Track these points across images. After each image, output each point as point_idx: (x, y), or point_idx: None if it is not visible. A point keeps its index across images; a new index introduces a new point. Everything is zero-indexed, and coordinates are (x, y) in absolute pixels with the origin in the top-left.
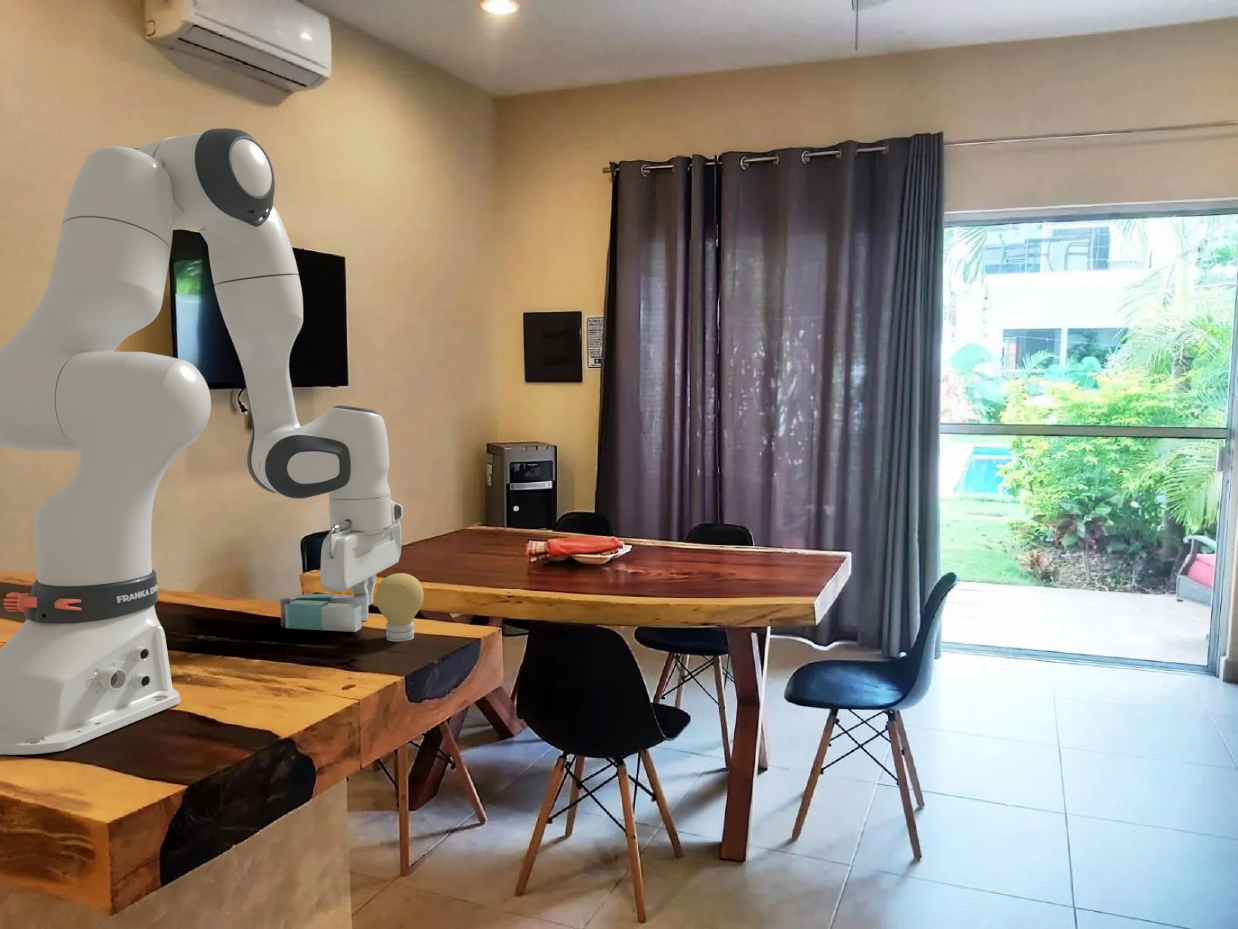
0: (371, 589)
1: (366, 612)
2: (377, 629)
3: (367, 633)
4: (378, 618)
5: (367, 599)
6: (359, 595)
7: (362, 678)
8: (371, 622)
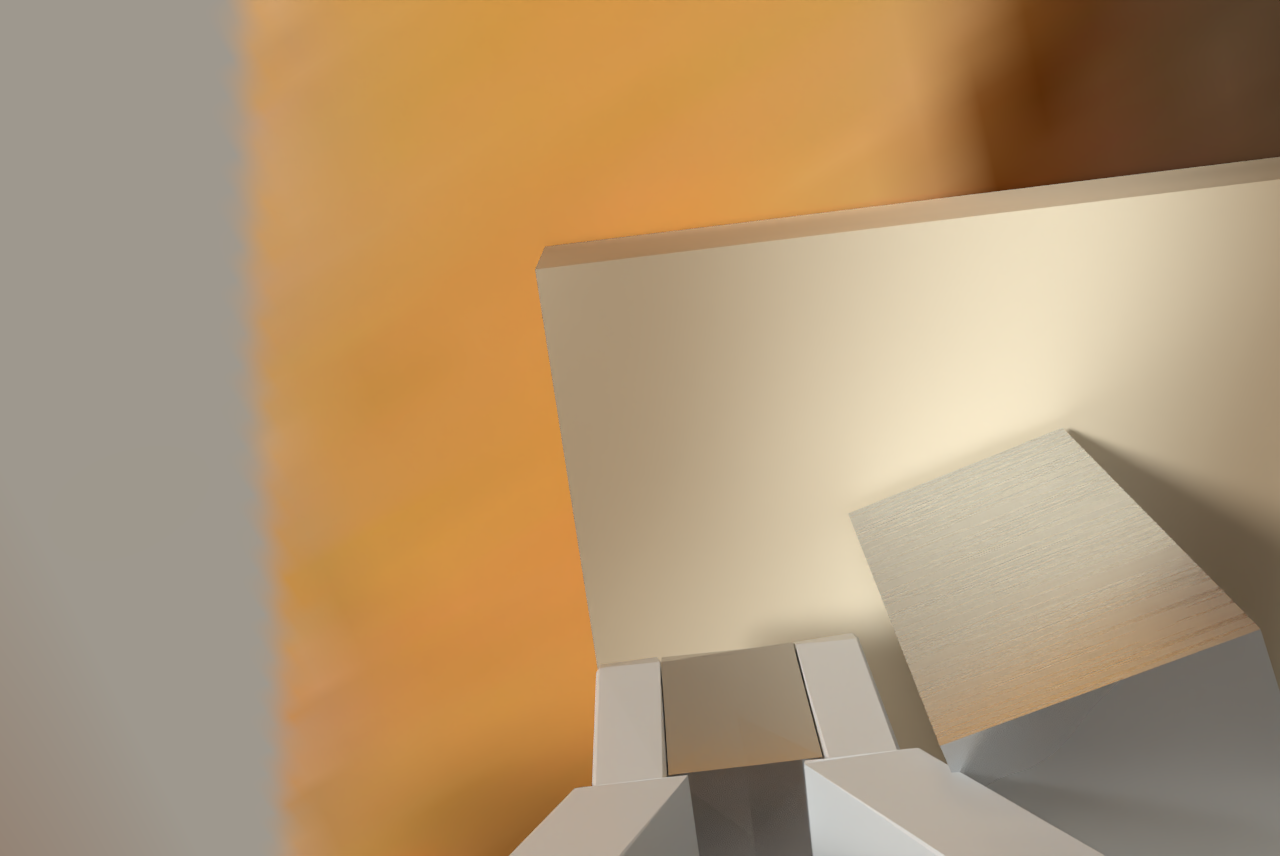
0: (647, 847)
1: (1113, 483)
2: None
3: None
4: (438, 528)
5: (1021, 652)
6: None
7: None
8: None
